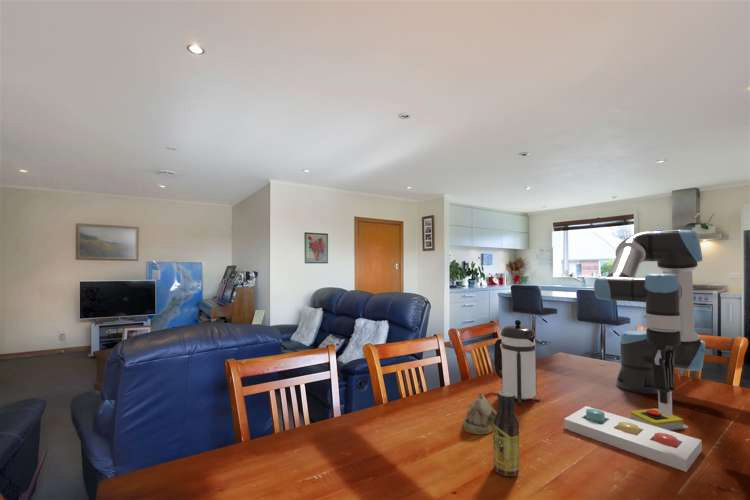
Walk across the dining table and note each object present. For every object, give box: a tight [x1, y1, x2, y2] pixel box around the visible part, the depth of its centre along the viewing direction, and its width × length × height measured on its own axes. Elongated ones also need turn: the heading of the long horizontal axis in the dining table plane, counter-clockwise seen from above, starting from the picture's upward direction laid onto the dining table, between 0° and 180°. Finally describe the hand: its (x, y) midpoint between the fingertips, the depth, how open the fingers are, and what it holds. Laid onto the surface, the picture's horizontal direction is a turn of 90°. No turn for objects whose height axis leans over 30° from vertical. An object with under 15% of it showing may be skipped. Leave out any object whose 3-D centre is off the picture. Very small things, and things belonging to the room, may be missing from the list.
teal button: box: [586, 408, 605, 424], centre depth 115 cm, size 5×5×4 cm
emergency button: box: [629, 408, 689, 431], centre depth 118 cm, size 9×4×15 cm
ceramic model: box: [462, 393, 498, 435], centre depth 118 cm, size 14×11×10 cm
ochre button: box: [618, 422, 639, 436], centre depth 108 cm, size 5×5×4 cm
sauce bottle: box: [492, 390, 520, 478], centre depth 93 cm, size 7×6×20 cm
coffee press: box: [493, 319, 541, 406], centre depth 142 cm, size 17×16×30 cm
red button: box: [655, 433, 678, 448], centre depth 101 cm, size 5×5×4 cm
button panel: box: [563, 405, 703, 473], centre depth 108 cm, size 16×30×3 cm, turn 38°
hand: (665, 413), depth 102 cm, fingers closed
